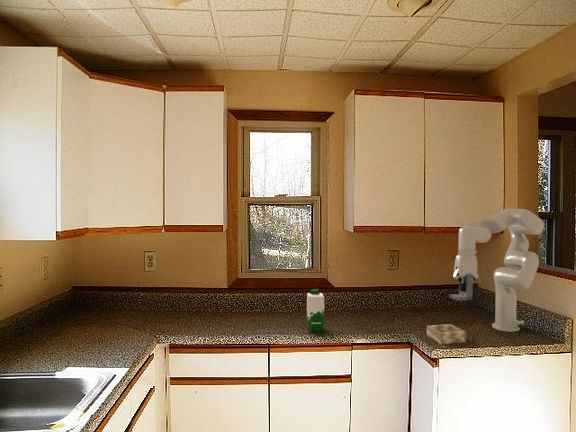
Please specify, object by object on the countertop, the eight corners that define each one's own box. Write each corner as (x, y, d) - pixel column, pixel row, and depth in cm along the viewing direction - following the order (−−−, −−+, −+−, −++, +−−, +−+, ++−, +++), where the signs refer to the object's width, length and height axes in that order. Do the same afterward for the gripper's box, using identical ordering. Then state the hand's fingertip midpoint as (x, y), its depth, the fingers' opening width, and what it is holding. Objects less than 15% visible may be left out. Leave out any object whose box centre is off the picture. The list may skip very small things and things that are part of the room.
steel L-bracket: (464, 297, 195) (465, 272, 195) (472, 300, 189) (473, 274, 189) (449, 297, 193) (450, 272, 193) (457, 300, 188) (458, 275, 187)
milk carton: (322, 326, 211) (322, 288, 211) (325, 331, 202) (325, 292, 202) (306, 326, 210) (306, 289, 210) (308, 332, 201) (308, 292, 201)
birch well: (450, 334, 198) (450, 324, 198) (465, 342, 186) (466, 331, 186) (426, 335, 195) (426, 325, 195) (440, 344, 184) (440, 333, 184)
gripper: (476, 252, 197) (475, 289, 197) (446, 252, 193) (445, 289, 194) (486, 253, 190) (485, 292, 190) (456, 253, 186) (455, 293, 186)
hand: (465, 290), depth 192 cm, fingers closed on steel L-bracket, 3 cm apart
